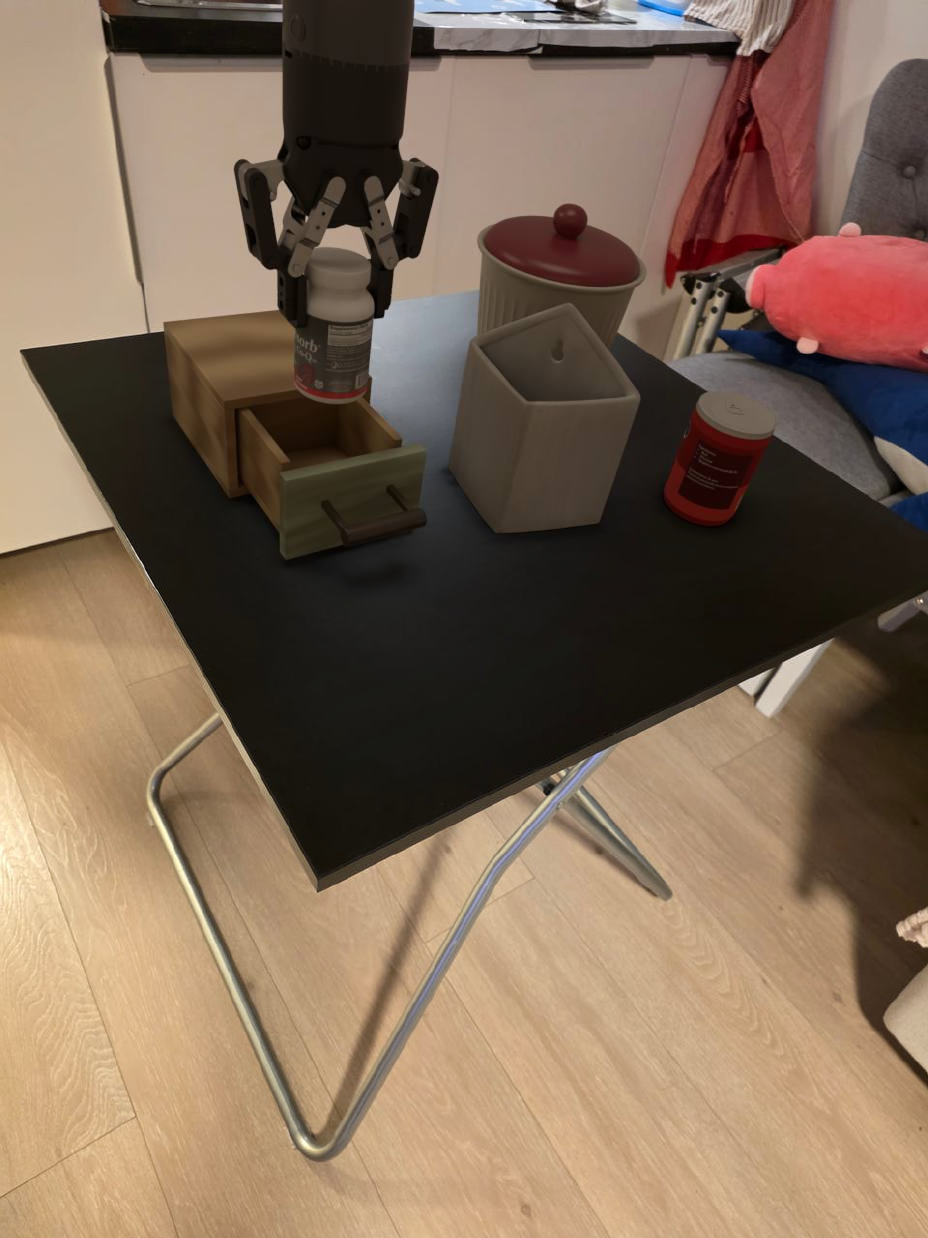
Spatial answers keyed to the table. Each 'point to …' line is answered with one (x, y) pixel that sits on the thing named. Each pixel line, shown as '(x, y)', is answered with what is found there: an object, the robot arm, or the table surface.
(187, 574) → the table surface
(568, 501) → the planter
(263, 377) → the cabinet
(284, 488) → the drawer
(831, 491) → the table surface
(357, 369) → the pill bottle
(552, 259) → the canister
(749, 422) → the red supplement jar
